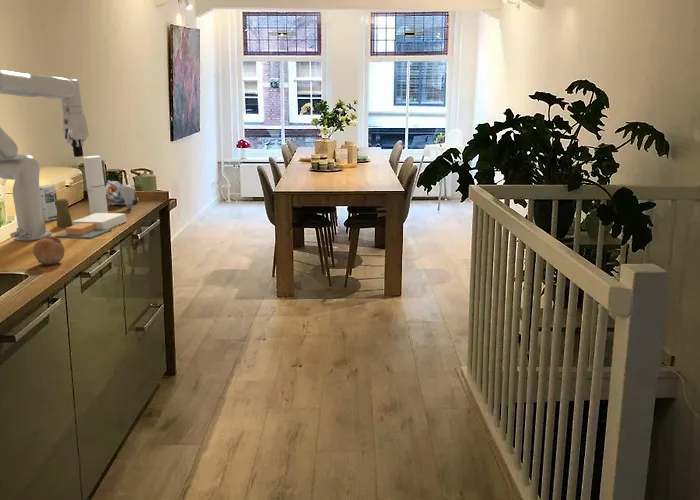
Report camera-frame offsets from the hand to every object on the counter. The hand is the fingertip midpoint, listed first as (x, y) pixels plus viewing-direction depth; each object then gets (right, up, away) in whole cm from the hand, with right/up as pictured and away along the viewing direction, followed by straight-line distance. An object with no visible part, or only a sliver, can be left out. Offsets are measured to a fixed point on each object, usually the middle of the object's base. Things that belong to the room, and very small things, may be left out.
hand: (78, 156), depth 295 cm
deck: (+10, -28, -3) cm, 30 cm away
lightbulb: (+12, -20, +29) cm, 37 cm away
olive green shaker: (-6, -28, +1) cm, 29 cm away
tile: (+7, -31, -15) cm, 35 cm away
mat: (+8, -32, -16) cm, 36 cm away
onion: (+12, -43, -57) cm, 72 cm away
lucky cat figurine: (+5, -17, +41) cm, 45 cm away
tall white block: (+1, -23, +21) cm, 31 cm away
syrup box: (-18, -25, +14) cm, 34 cm away
